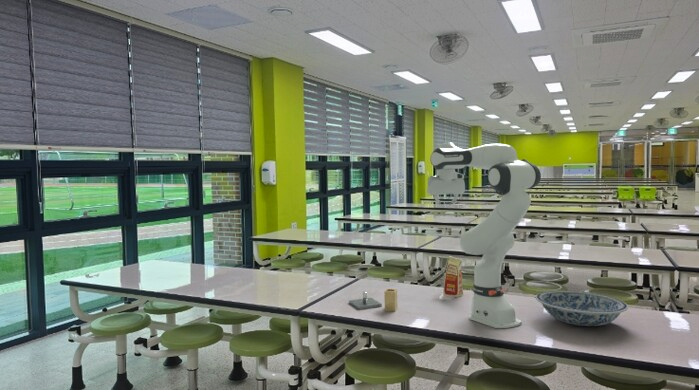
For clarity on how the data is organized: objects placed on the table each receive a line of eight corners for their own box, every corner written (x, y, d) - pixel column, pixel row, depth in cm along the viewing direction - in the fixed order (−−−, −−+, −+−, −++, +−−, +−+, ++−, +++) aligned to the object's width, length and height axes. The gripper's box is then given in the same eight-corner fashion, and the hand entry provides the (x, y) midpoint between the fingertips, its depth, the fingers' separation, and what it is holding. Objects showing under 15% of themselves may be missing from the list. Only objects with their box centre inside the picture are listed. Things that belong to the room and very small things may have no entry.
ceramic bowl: (638, 321, 192) (638, 298, 192) (612, 345, 168) (612, 318, 168) (554, 305, 217) (554, 284, 216) (521, 323, 193) (521, 300, 192)
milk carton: (443, 295, 237) (442, 257, 236) (448, 291, 245) (447, 253, 244) (460, 297, 233) (460, 258, 232) (465, 293, 241) (464, 255, 240)
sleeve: (397, 308, 218) (397, 289, 217) (395, 311, 213) (395, 292, 212) (387, 307, 219) (386, 288, 219) (384, 310, 214) (384, 291, 214)
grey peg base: (381, 306, 221) (381, 293, 220) (358, 309, 216) (358, 296, 216) (371, 299, 232) (370, 287, 231) (348, 303, 227) (348, 290, 227)
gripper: (431, 176, 221) (431, 204, 221) (466, 175, 228) (466, 202, 229) (424, 176, 226) (424, 204, 227) (459, 175, 234) (459, 202, 235)
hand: (446, 203), depth 228 cm, fingers open, 8 cm apart
